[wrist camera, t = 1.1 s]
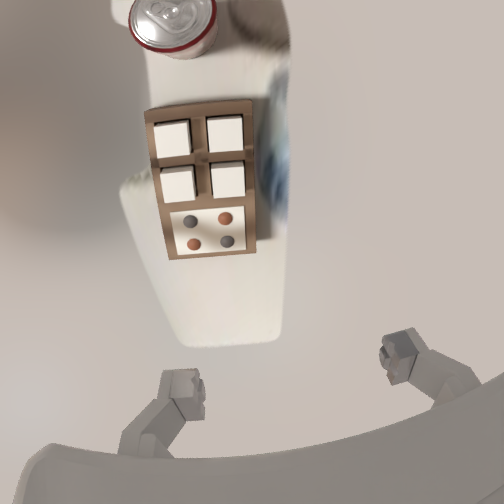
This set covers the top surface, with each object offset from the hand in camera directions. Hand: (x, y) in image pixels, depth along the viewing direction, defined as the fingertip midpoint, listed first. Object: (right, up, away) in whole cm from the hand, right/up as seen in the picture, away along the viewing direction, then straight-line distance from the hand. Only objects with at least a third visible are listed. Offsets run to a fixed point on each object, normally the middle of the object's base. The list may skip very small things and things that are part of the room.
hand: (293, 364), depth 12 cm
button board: (-8, +14, +25) cm, 30 cm away
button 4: (-5, +18, +20) cm, 28 cm away
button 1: (-10, +13, +23) cm, 28 cm away
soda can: (-9, +30, +14) cm, 35 cm away
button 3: (-5, +14, +23) cm, 27 cm away
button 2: (-11, +18, +19) cm, 29 cm away
